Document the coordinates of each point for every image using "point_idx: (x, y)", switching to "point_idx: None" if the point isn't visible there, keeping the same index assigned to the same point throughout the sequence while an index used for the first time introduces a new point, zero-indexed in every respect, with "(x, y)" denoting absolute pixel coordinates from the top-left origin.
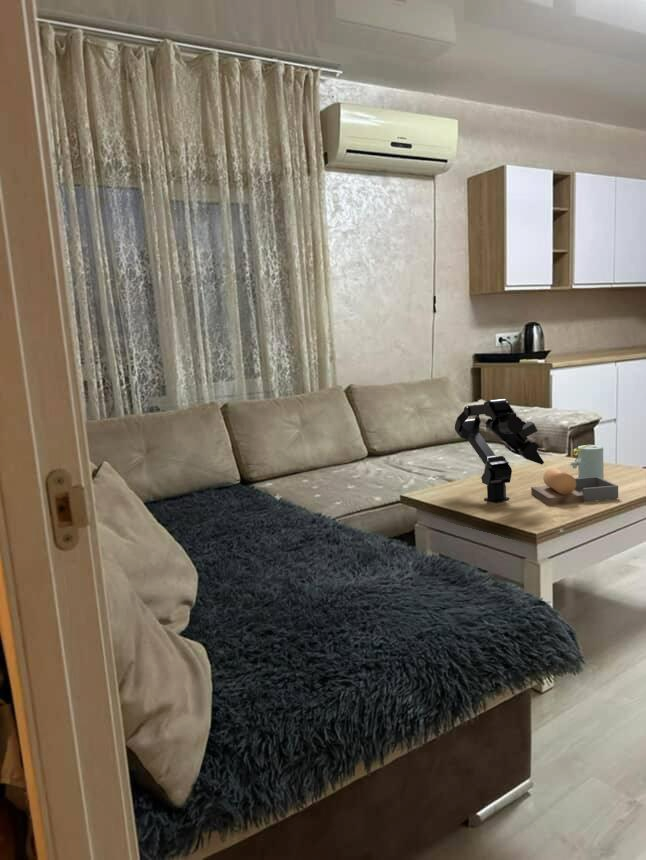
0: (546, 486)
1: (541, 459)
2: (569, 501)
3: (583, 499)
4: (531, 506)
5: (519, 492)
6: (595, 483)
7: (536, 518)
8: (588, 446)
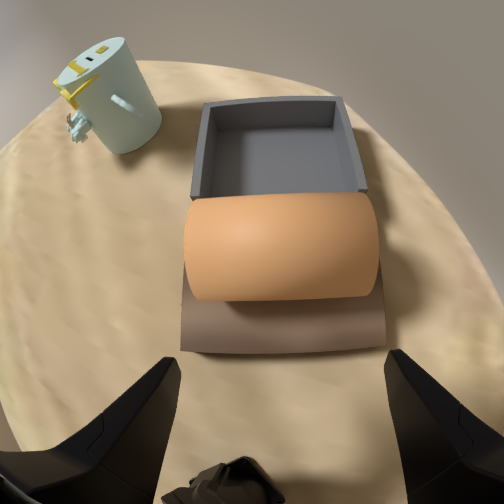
0: None
1: (427, 378)
2: None
3: None
4: (369, 409)
5: None
6: (214, 124)
7: (479, 410)
8: (79, 63)
